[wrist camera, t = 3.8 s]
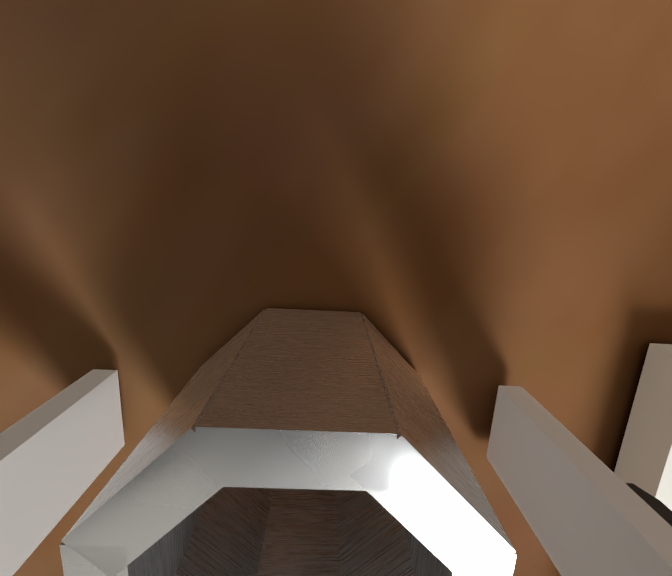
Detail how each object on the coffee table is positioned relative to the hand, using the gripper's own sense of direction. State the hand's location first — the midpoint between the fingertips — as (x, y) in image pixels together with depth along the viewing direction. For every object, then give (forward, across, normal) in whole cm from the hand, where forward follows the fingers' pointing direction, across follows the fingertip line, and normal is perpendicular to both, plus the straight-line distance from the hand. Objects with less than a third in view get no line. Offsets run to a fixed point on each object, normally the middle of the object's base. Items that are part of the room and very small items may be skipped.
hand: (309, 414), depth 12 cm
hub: (0, 0, 0) cm, 0 cm away
